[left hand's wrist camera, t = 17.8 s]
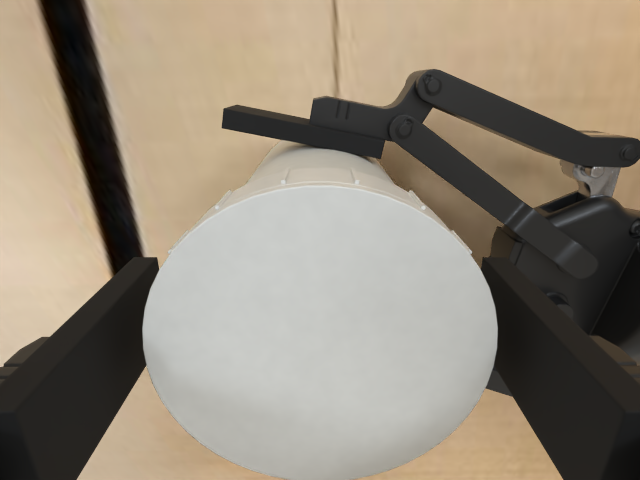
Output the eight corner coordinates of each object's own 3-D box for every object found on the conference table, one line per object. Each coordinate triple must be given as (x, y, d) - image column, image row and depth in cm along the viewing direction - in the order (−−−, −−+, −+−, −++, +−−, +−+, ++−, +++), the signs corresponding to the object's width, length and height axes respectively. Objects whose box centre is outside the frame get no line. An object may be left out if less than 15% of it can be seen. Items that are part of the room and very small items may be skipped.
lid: (262, 462, 14) (253, 519, 13) (103, 252, 11) (60, 286, 10) (509, 371, 13) (541, 420, 11) (401, 102, 10) (420, 107, 8)
